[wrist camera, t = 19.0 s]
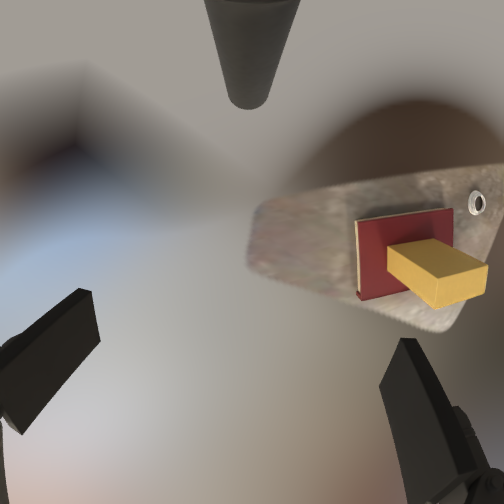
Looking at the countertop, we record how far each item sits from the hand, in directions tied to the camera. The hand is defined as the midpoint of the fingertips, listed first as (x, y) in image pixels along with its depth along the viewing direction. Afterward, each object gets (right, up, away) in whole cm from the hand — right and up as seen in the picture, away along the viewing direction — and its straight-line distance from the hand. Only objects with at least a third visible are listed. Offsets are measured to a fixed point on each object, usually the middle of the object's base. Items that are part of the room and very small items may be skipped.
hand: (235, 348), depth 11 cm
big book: (+23, +5, +29) cm, 37 cm away
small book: (+23, +4, +25) cm, 34 cm away
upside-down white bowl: (+37, +12, +27) cm, 47 cm away
